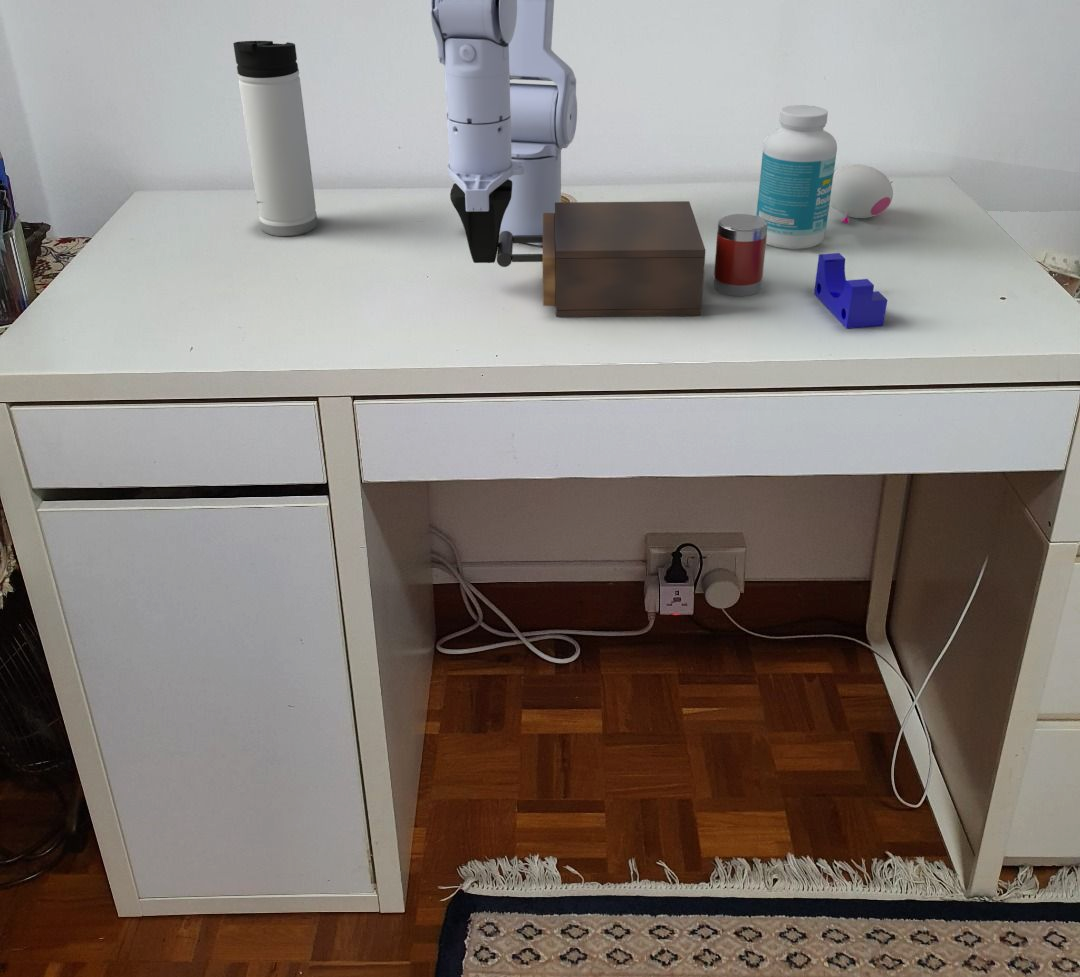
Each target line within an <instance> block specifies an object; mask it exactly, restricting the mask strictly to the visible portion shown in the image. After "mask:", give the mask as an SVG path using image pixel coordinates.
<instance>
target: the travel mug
mask: <svg viewBox="0 0 1080 977" xmlns="http://www.w3.org/2000/svg"><path fill="white" fill-rule="evenodd" d="M233 51H234V56H235V63H236V65H237V66H236V71H237V72H236V74H237V79H238V88H239V94H240V101H241V108H242V113H243V120H244V128H245V133H246V140H247V147H248V154H249V160H250V167H251V174H252V179H253V180H252V181H253V186H254V187H253V188H254V192H255V193H254V194H255V200H256V206H257V213H258V219H259V226H260V230H261V231H262V232H263V233H265V234H267V235H270V236H276V237H293V236H300V235H303V234H307V233H309V232H311V231H313V230H314V229H315V228H316V227H317V226H318V223H319V222H318V216H317V210H316V209H317V208H316V199H315V190H314V182H313V175H312V166H311V158H310V150H309V149H310V148H309V141H308V133H307V125H306V117H305V109H304V100H303V93H302V84H301V77H300V69H299V65H298V62H297V60H298V57H297V56H298V55H297V49H296V43H293V42H285V43H274V41H273V40H245V41H243V40H241V41H234V42H233Z"/></svg>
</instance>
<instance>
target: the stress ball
mask: <svg viewBox="0 0 1080 977" xmlns="http://www.w3.org/2000/svg"><path fill="white" fill-rule="evenodd" d="M893 182H894V180H892V181H890V179H889V178H888V177H887V175H885V174H884V173H883V172H882V171H880V170H879V169H877V168H875V167H873V166H869V165H866V164H858V163H856V164H848V165H844V166H841V167H839V168H837V169H834V175H833V182H832V189H831V197H830V204H829V206H831V207H832V208H833V209H834V210H835V211H837V213H840V214H842V215H844V216H846V217H845V218H844V219H843V220H841V221H840V223H843V224H848V225H850V222H849V219H848V217H850V218H855V219H866V218H873V217H875V216H877V215H880V214H881V213H883V212H884V211H886V210H887V209H888V207H889V206H890V205H891V203H892V201H893V197H894V189H893V185H892V183H893Z"/></svg>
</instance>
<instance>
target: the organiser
mask: <svg viewBox="0 0 1080 977" xmlns="http://www.w3.org/2000/svg"><path fill="white" fill-rule="evenodd" d="M555 244H556V306H555V316H556V318H578V317H579V318H581V317H583V318H584V317H585V318H586V317H587V318H589V317H591V318H592V317H595V318H596V317H694V316H695V317H699V316H701V315H702V304H703V303H702V302H703V292H704V291H703V290H704V279H705V278H704V277H705V265H706V251H707V250H706V247H705V244H704V241H703V238H702V235H701V233H700V229H699V226H698V222H697V220H696V217H695V215H694V212H693V208H692V206H691V202H690V201H688V200H679V201H677V200H676V201H675V200H674V201H673V200H672V201H671V200H669V201H665V200H664V201H662V200H661V201H573V202H571V201H569V202H568V201H565V202H562V201H561V202H555Z"/></svg>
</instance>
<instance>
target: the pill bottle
mask: <svg viewBox="0 0 1080 977" xmlns="http://www.w3.org/2000/svg"><path fill="white" fill-rule="evenodd" d="M828 113H829V112H828V110H827V109H825V108H823V107H821V106H820V107H819V106H815V105H806V104H796V105H795V104H794V105H788V106H783V107H782V108H781V109H780V113H779V125H780V127H779V128H777V129H774V130H773V131H770V132H769V133H768V135H767V136H766V137H765V139H764V141H763V145H762V156H761V166H760V176H759V186H758V194H757V206H756V215H755V216H758V217H761V218H763V219H764V220H765V221H766V222H767V224H768V225H767V238H766V245H768V246H770V247H775V248H779V249H789V250H798V249H799V250H801V249H809V248H813V247H815V246H817V245H819V244H821V243H822V242H823V241H824V239H825V237H826V231H827V226H828V219H829V218H828V217H829V210H830V197H831V189H832V182H833V175H834V171H835V166H836V158H837V152H838V144H837V140H836V138H835V137H834V136H833V134H831V133H830V132H828V131H826V130H824V128H825V127H826V125H827V123H828V115H829V114H828Z"/></svg>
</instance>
